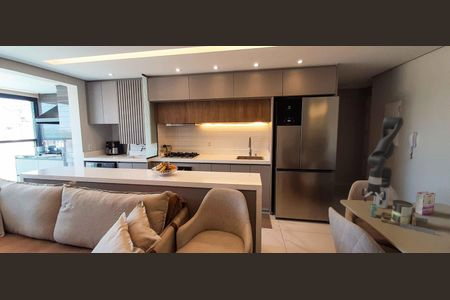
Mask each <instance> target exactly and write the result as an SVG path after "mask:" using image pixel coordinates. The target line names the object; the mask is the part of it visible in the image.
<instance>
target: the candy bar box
mask: <svg viewBox="0 0 450 300" xmlns="http://www.w3.org/2000/svg"><path fill="white" fill-rule="evenodd" d="M435 201H436V192H432V191H429V190H428V191H418V192H417V193H416V200H415V212H414V214H415V213H416V214H418V215H422V216H424V215H426V216H427V215H431V214H434V208H435Z"/></svg>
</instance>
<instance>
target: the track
mask: <svg viewBox="0 0 450 300" xmlns="http://www.w3.org/2000/svg"><path fill="white" fill-rule="evenodd" d="M415 217H416V222H417V221H418V222H421V223H428V222H429V221H428V220H429V219H428V218H424V217H420V216H419V217H418V216H415ZM399 227H400V228H404V229H408V230H413V231H417V232H422V233H426V234H430V235H435V234H436V230H434V229H432V228H431V229H430V228H426V227H421V226H417V225H416V226H412V225H411V224H410V225H408V224H403V223H400V225H399Z"/></svg>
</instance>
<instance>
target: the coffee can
mask: <svg viewBox="0 0 450 300" xmlns="http://www.w3.org/2000/svg"><path fill="white" fill-rule="evenodd" d="M413 207H414V204H413V203H411V202H409V201H406V200H401V199H393V200H392V207H391V213H392V215H391V216H390V217H391V218H390V220H391V221H395V222H400V223H405V224H409V225H411V224H410V222H411V214H412V211H413Z"/></svg>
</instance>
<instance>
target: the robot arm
mask: <svg viewBox="0 0 450 300" xmlns="http://www.w3.org/2000/svg"><path fill="white" fill-rule="evenodd" d="M403 125H404V118H403V117H400V116H398V117H397V116H385V117H384V118H383V121H382V124H381V136H380V139H379V141H378V142H377V145H376V147H375V149H374V151H372V153H371V154H370V155H369V156H368V158H367V164H368V165H371V166H374V167H373V168H370V170H369V175H368V176H369V177H368V181H367V182H368V183H367V188H365V187H362V189H361V196H362V197H363V201H364V202H365V203H366V202H367V197H368V196H373V202H372V204H375V205H377V208H381V209H387V208H388V207H389V197H390V187H391V181H392V175H393V170H392V168H391V167H386V164H387V160H389V159H390V158H391V157H393V155H394V152H395V146H396V145H395V143H394V140H395V139H396V137H397V135H398V134H399V132H400V130H401V129H402V127H403ZM389 130H392V131H391V132H390V133H389ZM366 191H367V193H365V192H366Z"/></svg>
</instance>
